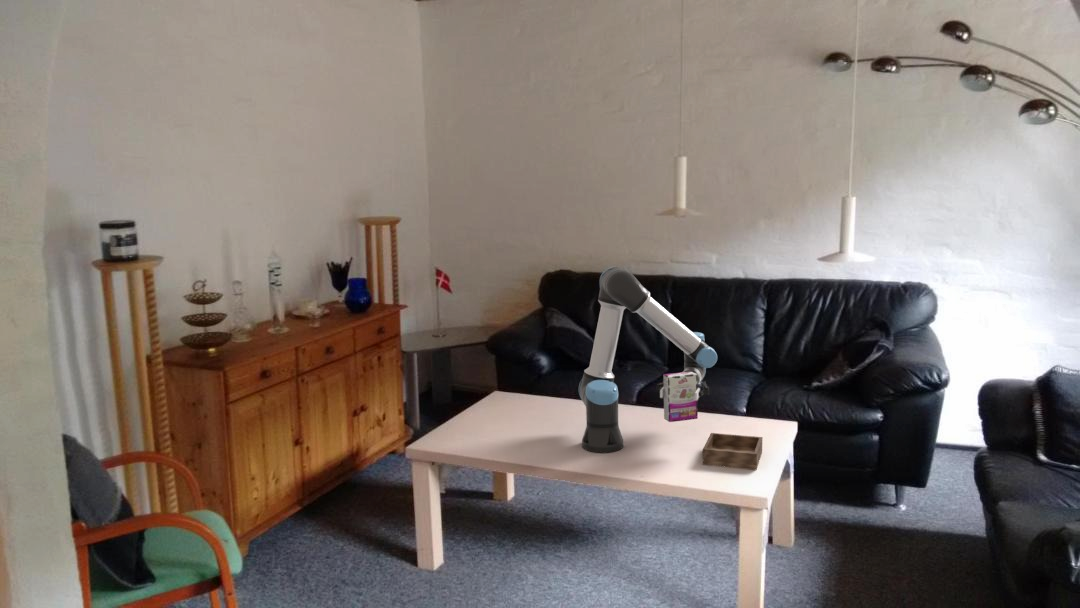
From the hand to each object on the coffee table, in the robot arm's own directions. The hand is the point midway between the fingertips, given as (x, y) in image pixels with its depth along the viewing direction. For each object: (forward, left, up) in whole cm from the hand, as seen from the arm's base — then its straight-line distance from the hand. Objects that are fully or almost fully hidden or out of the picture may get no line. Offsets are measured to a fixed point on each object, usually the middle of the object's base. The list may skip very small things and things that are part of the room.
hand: (678, 395), depth 300 cm
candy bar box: (0, +4, -10) cm, 11 cm away
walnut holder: (+19, +3, -22) cm, 29 cm away
